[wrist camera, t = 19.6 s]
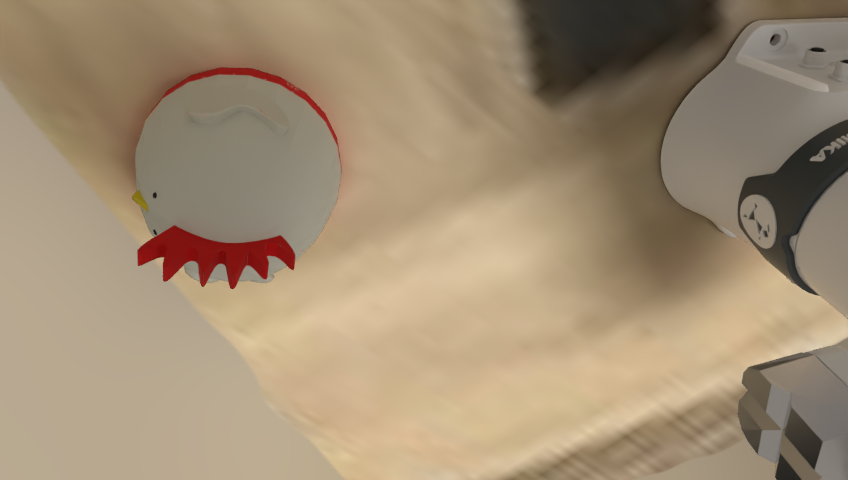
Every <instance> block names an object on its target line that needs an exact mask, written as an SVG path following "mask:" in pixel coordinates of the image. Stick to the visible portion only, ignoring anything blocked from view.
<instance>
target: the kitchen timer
mask: <svg viewBox="0 0 848 480" xmlns="http://www.w3.org/2000/svg"><path fill="white" fill-rule="evenodd" d="M135 166H136V188H137V192H136V193H135V194H134V195H133V196H132V199H133V200H134V201H135V202H136V203H138V204H139V205H140V207H141V210H142V212H143V215H144V218H145V220H146V223H147V226H148V228H149V230H150V232H151V233H152V235H153V236H154V238H152V239H151V240H149V241H148V242H146V243H145V244H144V245H143V246H141V247H140V248H139V249H138V266H140V265H143V264H145V263H147V262H149V261H152V260H154V259H156V258H160V257H164V262H163V281H168V280H169V279H170V278H171V277H172V276H173V275H174V274H175V273H176V272H177V271H178V270H179V269H180V268H181V267H182V266H184V267H185V268H184V269H185V272H186V273H187V274H188V275H189V276H190V277H191V278H193V279H195V280H197V281H200V283H201V286H202V287H204V286H205V284H206V283H212V282H216V281H219V280H222V281H227V282H229V285H230V288H231V289H234V288H235V287H236V285H237V283H238V281H253V282H258V283H268V282H270V281H272V280H273V278H274V275H273V274H274V273H275V272H277V271H279V270H281V269H283V268H284V267H286V266H288V267H289V268H290V269H292V270H294V264H295V261H296V260H297V259H298V258H299V257H300V256H301V255H302V254H303V253H304V252H305V251H306V250H307V249H308V248H309V247H310V246H311V245H312V244H313V243H314V242H315V240H316V239H317V237H318V236H319V234H320V233H321V231H322V230H323V228H324V226H325V224H326V222H327V220H328V218H329V216H330V214H331V212H332V211H333V209H334V207H335V205H336V202H337V198H338V191H339V185H340V179H341V172H342V170H341V161H340V154H339V148H338V142H337V137H336V135H335V133H334V131H333V129H332V127H331V125H330V123H329V121H328V119H327V117H326V115H325V113H324V112H323V111H322V110H321V109H320V108H319V107H318V106H317V105H316V103H315V102H314V101H313V100H312V99H311V98H310V97H309V96H308V95H307V94H306V93H305V92H303V91H302V90H300V89H299V88H297V87H295V86H294V85H292V84H291V83H289V82H287V81H286V80H284V79H283V78H281V77H278V76H275V75H272V74H268V73H265V72H262V71H258V70H255V69H252V68H217V69H213V70H210V71H206V72H202V73H198V74H194V75H191V76H190V77H188V78H187V79H185V80H184V81H182V82H180V83H179V84H177V85H176V86H174V87H173V88H171V89H169V90H168V91H167V92H166V94H165V95H164V96H163V97H162V99H161V100H160V101H159V102H158V104H157V105H156V106H155V107H154V109H153V110H152V111H151V113H150V114H149V116H148V117H147V119H146V121H145V124H144V127H143V130H142V133H141V136H140V139H139V142H138V145H137V148H136V153H135Z"/></svg>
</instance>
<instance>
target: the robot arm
mask: <svg viewBox="0 0 848 480" xmlns="http://www.w3.org/2000/svg"><path fill="white" fill-rule="evenodd" d="M774 34H775V37H774V39H773V40H772V41H771V42H770V39H771V37H772V36H773V35H774ZM661 172H662V177H663V181H664V183H665V186H666V188H667V190H668V192H669V193H670V195H671V196H672V197H673V198H674V199H675V200H676V201H677V202H678V203H679V204H680V205H682V206H683V207H685V208H687V209H689V210H691V211H693V212H696V213H698V214H700V215H702V216H704V217H706V218H708V219H710V220H711V221H712V222H713V223H714V224H715V225H716V226H717V228H718V229H719V230H721V231H722V232H724V233H725V234H727V235H728V236H730V237H739V238H740V239H742V240H743V241H745V242H746V243H748V244H749V245H751V246H752V247H754V248H755V249H757V250H758V251H759V252H760V253H761V254H762V255H763V257H764V258H765V259H766V260H767V261H768V262H770V263H771V264H772V265H773V266H774V267H775V268H777V269H778V270H779V271H780V272H781V273H783V274H784V275H785V276H786V278H787V279H789V280H790V281H791V282H792V283H794V284H796V285H798V286H799V287H800V288H802V289H803V290H805V291H807V292H809V293H811V294H814V295H818V296H821V297H822V298H823V299H824V300H825V301H827V302H828V303H829V304H830V305H831V306H833V307H834V308H835V309H836V310H837V311H838V312H840V313H841V314H842V315H843V316H844V317H846V318H847V319H848V17H847V18H815V19H783V20H759V21H755V22H753V23H751V24H750V25H748V26H747V27H746V28H745V29H744V30H743V32H742V33H741V34H740V35H739V37H738V38H737V40H736V41H735V43H734V44H733V46H732V47H731V49H730V51H729V52H728V54H727V56H726V57H725V59H724V60H723V61H722V62H721V63H720V64H719V65H718V66H717V67H716V68H715V69H714V70H713V71H712V72H710V73H709V74H708V75H707V76H706V77H705V78H704V79H702V80H701V81H700V82H699V83H698V84H697V85H696V86H695V87H694V88H693V89H692V91H691V92H690V93H689V94H688V95H687V96H686V98H685V99H684V100H683V102H682V103H681V105H680V106H679V108H678V109H677V111H676V112H675V114H674V116H673V118H672V120H671V122H670V124H669V126H668V129H667V131H666V134H665V137H664V141H663V145H662V151H661ZM742 384H743V385H744V386H745V387H746V389H747V390H748V391H747V392H746V393H745V394H744V396H743V397H742V398H741V399H740V400H739V405H738V418H739V421H740V425H741V429H742V431H743V433H744V435H745V437H746V439H747V440H748V442H749V444H750V445H751V446H752V447H753V449H754V450H755V452H756V453H757V454H758V455H759V456H761V457H763V458H765V459H767V460H769V461H771V462H773V463H775V478H776V480H848V351H847V350H846V349H844V348H842V347H839V346H837V345H832V346H827V347H823V348H820V349H816V350H813V351H809V352H806V353H798V354H794V355H791V356H787V357H783V358H780V359H776V360H772V361H769V362H765V363H762V364H758V365H754V366H751V367H748V368H747V369H746V370H745V371H744V373H743V379H742Z"/></svg>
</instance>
